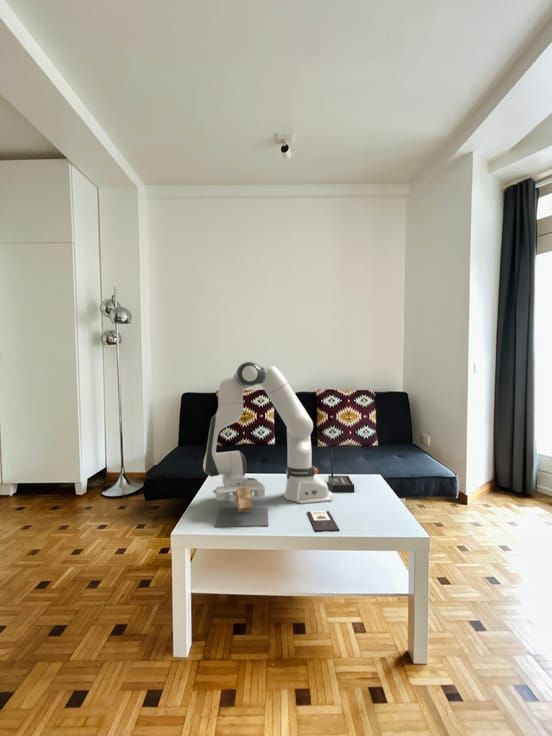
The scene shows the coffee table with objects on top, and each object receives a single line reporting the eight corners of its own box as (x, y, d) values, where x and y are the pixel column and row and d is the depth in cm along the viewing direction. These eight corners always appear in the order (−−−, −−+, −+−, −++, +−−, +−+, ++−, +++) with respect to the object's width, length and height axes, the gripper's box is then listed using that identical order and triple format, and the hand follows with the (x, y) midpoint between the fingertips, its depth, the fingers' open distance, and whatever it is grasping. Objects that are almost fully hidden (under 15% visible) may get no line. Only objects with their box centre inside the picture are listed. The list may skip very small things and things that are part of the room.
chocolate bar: (315, 530, 140) (307, 511, 158) (315, 533, 140) (307, 514, 158) (339, 529, 141) (328, 511, 159) (339, 532, 141) (328, 513, 159)
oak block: (250, 511, 150) (247, 492, 155) (252, 506, 147) (249, 487, 152) (238, 512, 148) (235, 493, 153) (239, 508, 145) (236, 488, 151)
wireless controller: (358, 493, 183) (358, 457, 183) (328, 493, 183) (328, 457, 183) (350, 480, 203) (350, 448, 203) (323, 480, 203) (323, 448, 203)
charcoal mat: (267, 508, 163) (267, 507, 163) (268, 526, 145) (268, 525, 145) (220, 509, 162) (219, 508, 162) (214, 527, 144) (214, 525, 144)
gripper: (212, 482, 160) (217, 492, 147) (259, 478, 166) (268, 487, 153) (212, 497, 160) (217, 509, 147) (259, 492, 166) (268, 503, 153)
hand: (243, 498), depth 150 cm, fingers closed on oak block, 5 cm apart
